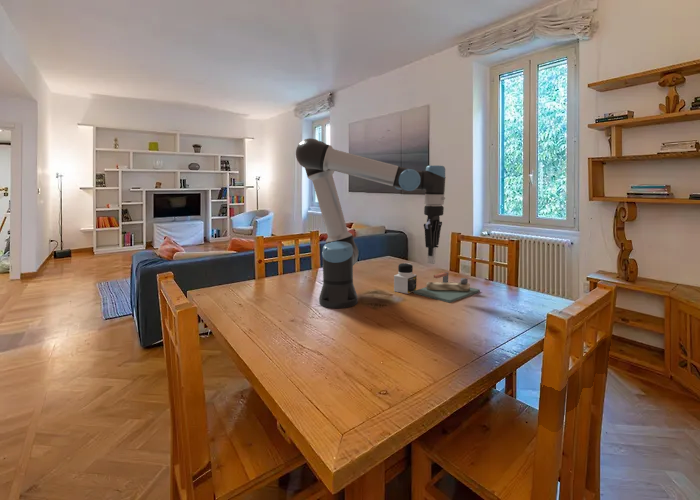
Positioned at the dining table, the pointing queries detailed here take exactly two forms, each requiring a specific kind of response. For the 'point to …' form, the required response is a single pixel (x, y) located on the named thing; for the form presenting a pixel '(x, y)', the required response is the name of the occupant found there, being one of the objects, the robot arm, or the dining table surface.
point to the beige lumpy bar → (447, 286)
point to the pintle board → (446, 291)
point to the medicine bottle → (405, 279)
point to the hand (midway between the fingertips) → (431, 263)
